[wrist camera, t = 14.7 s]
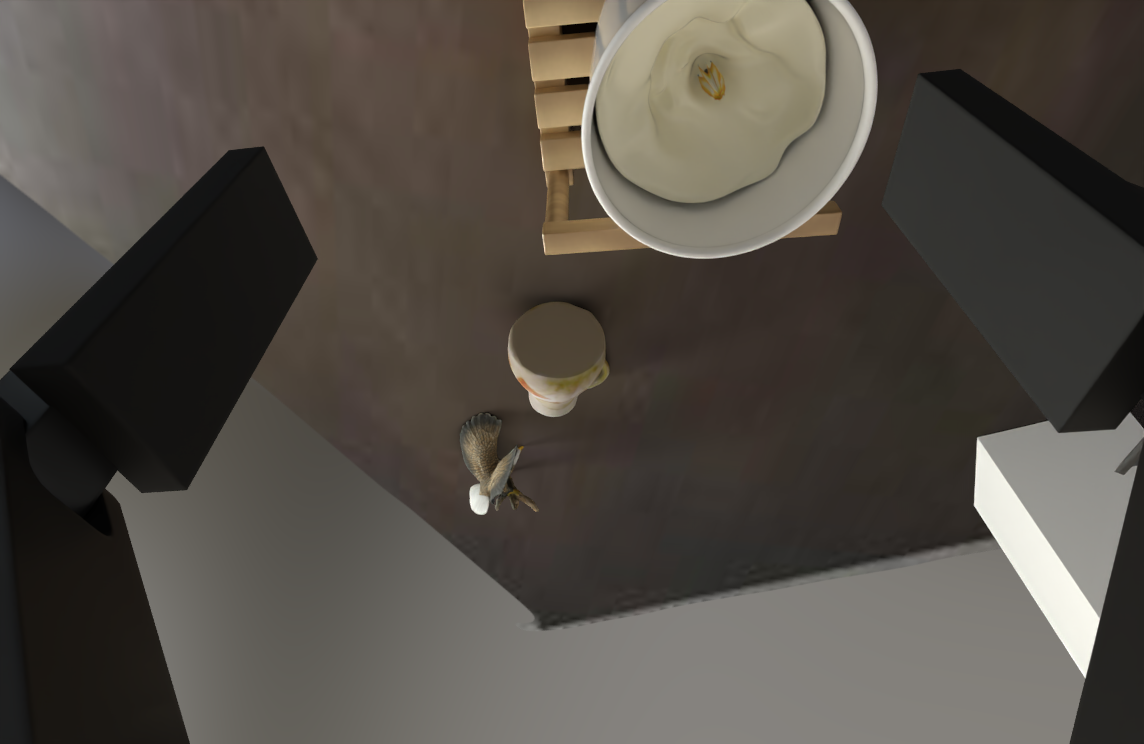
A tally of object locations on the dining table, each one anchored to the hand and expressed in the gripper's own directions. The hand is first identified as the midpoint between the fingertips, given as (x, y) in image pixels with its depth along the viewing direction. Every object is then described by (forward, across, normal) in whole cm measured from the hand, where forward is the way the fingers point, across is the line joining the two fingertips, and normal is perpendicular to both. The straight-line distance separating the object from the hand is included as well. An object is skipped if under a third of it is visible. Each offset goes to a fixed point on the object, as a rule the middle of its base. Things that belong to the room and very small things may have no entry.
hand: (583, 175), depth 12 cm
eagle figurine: (+24, -11, -37) cm, 46 cm away
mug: (+24, -4, -26) cm, 35 cm away
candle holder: (+20, +5, -3) cm, 21 cm away
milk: (+23, +41, -44) cm, 65 cm away
